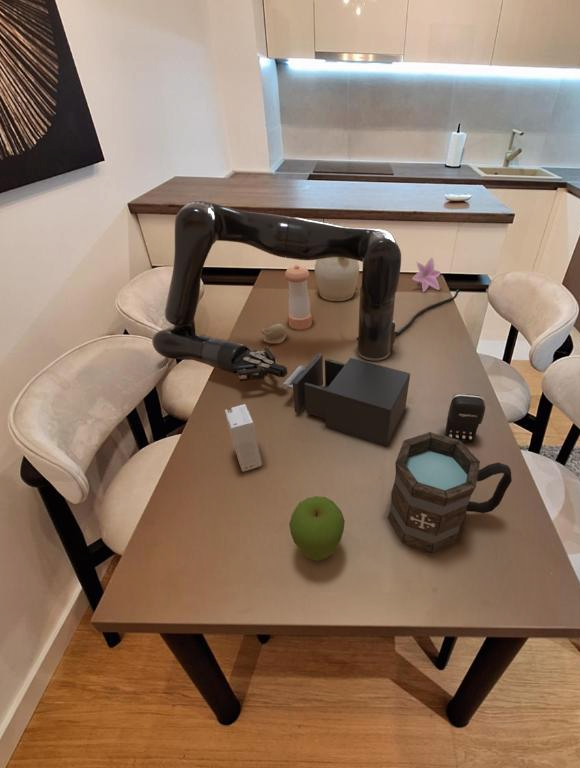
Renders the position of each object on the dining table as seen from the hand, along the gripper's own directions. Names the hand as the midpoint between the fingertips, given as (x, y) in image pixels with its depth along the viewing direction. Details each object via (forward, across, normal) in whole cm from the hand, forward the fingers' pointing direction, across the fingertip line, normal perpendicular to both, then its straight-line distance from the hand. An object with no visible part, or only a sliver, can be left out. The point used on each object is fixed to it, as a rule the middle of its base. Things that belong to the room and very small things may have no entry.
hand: (285, 372), depth 95 cm
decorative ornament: (-16, +20, +7) cm, 27 cm away
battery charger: (+42, +2, +7) cm, 43 cm away
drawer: (+10, 0, +6) cm, 12 cm away
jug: (-13, +56, +7) cm, 58 cm away
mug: (+43, -19, +7) cm, 48 cm away
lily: (+15, +76, +7) cm, 78 cm away
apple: (+26, -34, +7) cm, 43 cm away
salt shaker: (-14, +32, +7) cm, 35 cm away
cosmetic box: (+3, -22, +7) cm, 23 cm away
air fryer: (+21, 0, +6) cm, 22 cm away
